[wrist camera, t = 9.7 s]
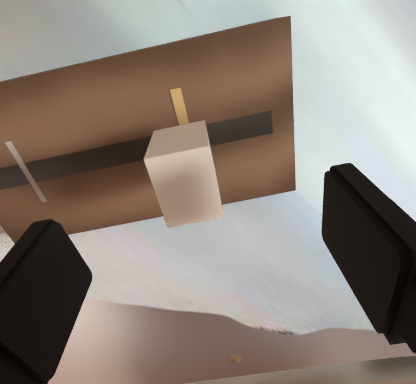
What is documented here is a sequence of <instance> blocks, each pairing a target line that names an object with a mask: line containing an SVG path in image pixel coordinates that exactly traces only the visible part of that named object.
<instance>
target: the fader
mask: <svg viewBox="0 0 416 384" xmlns="http://www.w3.org/2000/svg"><path fill="white" fill-rule="evenodd" d="M144 162H145V165H146V168H147V171H148V173H149V176H150V179H151V182H152V185H153V188H154V190H155V193H156V196H157V199H158V202H159V205H160V207H161V210H162V213H163V216H164V219H165V221H166V224H167V227H168V228H169V227H174V226H179V225H185V224H190V223H195V222H200V221H205V220H210V219H216V218H221V217H224V215H223V209H222V204H221V198H220V193H219V187H218V182H217V177H216V172H215V167H214V162H213V157H212V152H211V147H210V143H209V138H208V133H207V128H206V123H205V120H203V121H198V122H193V123H189V124H184V125H179V126H174V127H170V128H165V129H160V130H156V131H154V132H153V135H152V138H151V140H150V143H149V146H148V149H147V151H146V154H145V157H144Z"/></svg>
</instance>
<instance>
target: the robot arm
mask: <svg viewBox="0 0 416 384" xmlns="http://www.w3.org/2000/svg"><path fill="white" fill-rule="evenodd" d="M322 237H323V240H324V242H325V244H326V246H327V248H328V249H329V251H330V253H331V255H332V256H333V258H334V260H335V261H336V263H337V265H338V267H339V268H340V270H341V272H342V274H343V275H344V277H345V279H346V280H347V282H348V284H349V286H350V287H351V289H352V291H353V293H354V294H355V296H356V298H357V300H358V301H359V303H360V305H361V306H362V308H363V310H364V312H365V313H366V315H367V317H368V319H369V320H370V322H371V324H372V325H373V327H374V329H375V330H376V331H377V332H378V333H383V334H384V335H385V337H386V339H387V340H388V342H389V344H390V345H392V344H399V343H407V344H408V346H409V348H410V349H411V351H412V352H414V353H415V356H409V357H396V358H387V359H378V360H370V361H360V362H351V363H342V364H333V365H324V366H316V367H309V368H301V369H293V370H286V371H278V372H270V373H263V374H255V375H247V376H239V377H231V378H224V379H216V380H209V381H201V382H194V383H186V384H416V222H415V221H414V220H413V219H412V218H411V217H410V216H409V215H408V214H407V213H405V212H404V211H403V210H402V209H401V208H400V207H399V206H398V205H397V204H396V203H395V202H393V201H392V200H391V199H390V198H388V197H387V196H386V195H385V194H384V193H383V192H382V191H381V190H380V189H379V188H378V187H377V186H375V185H374V184H373V183H372V182H371V181H370V180H369V179H368V178H367V177H366V176H365V175H363V174H362V173H361V172H360V171H359V170H358V169H357V168H356V167H355V166H354V165H353V164H351V163H346V164H341V165H335V166H332V167H331V168H330V171H327V172H325V176H324V195H323V216H322ZM91 281H92V273H91V270H90V269H89V267H88V266H87V264H86V263H85V261H84V260H83V258H82V257H81V255H80V253H79V252H78V250H77V249H76V247H75V246H74V244H73V243H72V241H71V240H70V238H69V236H68V235H67V233H66V232H65V230H64V229H63V227H62V226H61V224H60V223H59V222H55V221H54V220H53V219H46V220H41V221H36V222H33V223H32V224H31V225H30V226H29V227H28V229H27V230H26V231H25V232H24V233H23V235H22V236H21V237H20V238H19V240H18V241H17V242H16V243H15V245H14V246H13V247H12V248H11V250H10V251H9V252H8V253H7V255H6V256H5V257H4V258H3V260H2V261H1V262H0V384H47V383H48V381H49V380H50V379H51V378H52V377H53V376H54V374H55V372H56V369H57V367H58V364H59V362H60V359H61V356H62V354H63V352H64V349H65V346H66V344H67V342H68V339H69V337H70V334H71V332H72V329H73V326H74V324H75V321H76V319H77V316H78V314H79V311H80V309H81V306H82V303H83V301H84V299H85V296H86V294H87V291H88V289H89V286H90V284H91Z"/></svg>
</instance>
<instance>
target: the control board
mask: <svg viewBox="0 0 416 384" xmlns="http://www.w3.org/2000/svg"><path fill="white" fill-rule="evenodd" d="M203 120H205V123H206V128H207V133H208V138H209V143H210V147H211V152H212V157H213V162H214V167H215V172H216V177H217V182H218V187H219V193H220V198H221V204H222V205H223V204H228V203H233V202H238V201H243V200H248V199H253V198H258V197H264V196H269V195H274V194H279V193H284V192H289V191H294V190H296V186H295V152H294V118H293V84H292V50H291V16H287V17H280V18H275V19H270V20H266V21H261V22H257V23H253V24H248V25H244V26H240V27H235V28H231V29H227V30H222V31H218V32H214V33H209V34H205V35H201V36H196V37H192V38H188V39H183V40H179V41H175V42H170V43H166V44H162V45H157V46H153V47H149V48H144V49H140V50H136V51H131V52H127V53H123V54H118V55H114V56H110V57H105V58H101V59H97V60H92V61H88V62H84V63H79V64H75V65H70V66H66V67H62V68H57V69H53V70H49V71H44V72H40V73H36V74H31V75H27V76H23V77H18V78H14V79H10V80H5V81H1V82H0V225H1V226H2V227H3V229H4V230H5V231H6V233H7V234H8V235H9V237H10V238H11V239H12V240H13V242H14V243H16V242H17V241H18V240H19V238H20V237H21V236H22V235H23V233H24V232H25V231H26V230H27V229H28V227H29V226H30V225H31V224H32V223H33V222H36V221H41V220H46V219H53V220H54V221H55V222H59V223H60V224H61V226H62V227H63V229H64V230H65V232H66V233H67V235H69V234H75V233H80V232H85V231H90V230H95V229H100V228H105V227H110V226H115V225H121V224H126V223H131V222H136V221H141V220H146V219H151V218H156V217H161V216H163V213H162V210H161V207H160V205H159V202H158V199H157V196H156V193H155V190H154V188H153V185H152V182H151V179H150V176H149V173H148V171H147V168H146V165H145V162H144V157H145V154H146V151H147V149H148V146H149V143H150V140H151V138H152V135H153V132H154V131H156V130H160V129H165V128H170V127H174V126H179V125H184V124H189V123H193V122H198V121H203Z"/></svg>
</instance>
